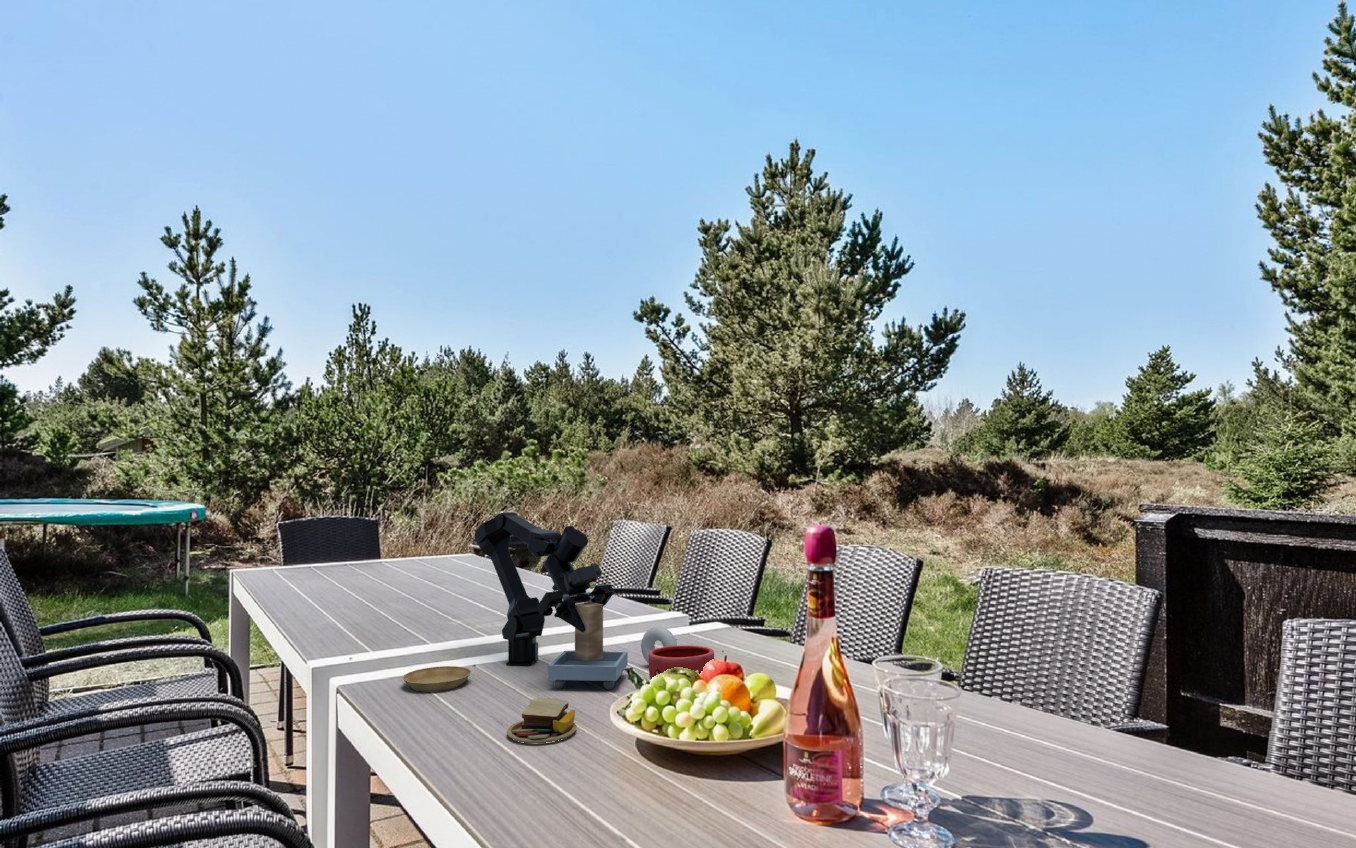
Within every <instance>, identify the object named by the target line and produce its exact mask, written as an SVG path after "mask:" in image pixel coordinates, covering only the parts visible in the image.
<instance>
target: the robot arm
mask: <svg viewBox="0 0 1356 848" xmlns="http://www.w3.org/2000/svg"><path fill="white" fill-rule="evenodd" d="M512 536H514V537H515V538H517V539H519V540H521V541H522V542H523V543H525V544H526V545H527V550H528V551H529V552H530V553H531V554H532V555H533V556H534V557H535V558H542V557H543V558H544V557H546V559H545V560H544V561H542V566H541V568H540V573H541V574H546V573H547V574H548V575H549V577H550V578H551V581H552V582H553V585H552V587H551V588H552V590H553V591H547V592H545V594H544V595H543V596H542V598H541V600H539V599H538V597H536V596H535V597H530V596H529V595H528V593H527V590H526V588H525V586H524V584H523V581H522V579H521V577H520V574H519V572H518V569H517V567H516V565H515V562H514V559H513V557H512V555H511V553H510V550H509V548H510V545H511V544H510V543H511V541H512V540H511V539H512V538H511V537H512ZM474 539H475V542H476V543H477V545H478V547H479V549H480V551H481V552H483V554H485V555H486V556H488V557H490V559H491V561H492V565H493V567H494V570H495V572H496V575H497V577H498V580H499V582H500V584H501V587H502V589H503V591H504V592H503V593H504V594H505V595H504V596H505V597H506V599H507V602H508V605H509V606H508V609H507V614H506V617H507V621H506V623H505V625H504V626H503V628H502V630H501V634H502V635H501V636H502V639H503V640H507V642H508V643H507V644H508V645H507V647H508V657H507V661H506V663H505V665H506V666H508V665H509V666H532V665H533V664H534V663H536V662H537V661H538V660H539V642H537V637H541V636H542V635H543V631H544V626H545V620H546V619H545V617H549V616H552V615H553V616H554V618H558V619H560V620H562V621H564V622H565V623H567V624H569V625H571V626H572V627H574V629H575V628H576V629H578V630H579V631H581V632H584V631H585V630H586V629H585V626H584V624H583V622H582V620H581V618H580V616H579V614H578V612H577V610H576V607H575V604H581V603H588V602H593V603H598V604H603V607H606V605H607V603H608V602H609V601H610V600H611V598H612V597H613V595H614V594H615V593H616V592H615V590H614V588H613V586H612V585H611V584H610V583H605V584H604V583H603V584H597V585H595V586H594V587H593V590H592V591H591V592H590V591H587V590H589V589H590V587H591V583H592V582H594V581H597V580H599V578H600V577H601V576H602V574H603V573H602V570H601V568H600V566H599V565H598V563H590V565H588V566H581V567H577V568H576V569H575V567H574V566H573V564H572V563H575V562H576V561H578V559H579V557H580V556H581V554H582V553H583V551H584V550H585V549H586V547H587V546H588V544H589V539H588V535H587V534H585V533H583V531H581V530H579V529H577V528H575V526H574V525H567V526H565V527H564V529H563V531H562V533H560V532H559V531H555V530H551V529H544V528H539V527H538V526H537V525H534V524H533V523H531V522H529V521H527V520H526V519H524V518H522V517H521V516H519V515H518V513H517V512H514V511H510V512H500V513H498V514H496V515H495V516H494V517H493V518H491V519H489V520H486V521H485V522H483V523H481V524H480V525H478V527H477V529H475V531H474ZM553 607H554V609H555V611H556V612H555V613H554V614H553V612H554V609H553Z"/></svg>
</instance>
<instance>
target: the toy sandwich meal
mask: <svg viewBox="0 0 1356 848" xmlns="http://www.w3.org/2000/svg"><path fill="white" fill-rule="evenodd" d="M567 709H569V702H568V701H566V700H564V699H561V698H560V699H558V698H553V697H552V698H550V697H547V698H546V697H540V698H533V699H530V703H529V704H528V705H527V707H526V708H525V709H524V711H522V712H521V719H522V720H520V721H517V722H516V723H513V724H512V725H510V726H509V727H508V728H507V730H506V734H507V737H509V738H512V739H514V740H515V741H514V740H513V741H514V742H516V741H519V742H524V743H546V742H552V741H558V740H561V739H564V740H566V739H568V738H570V737H571V736H572V735H573V733H575V731H577V724H576V723H575V722H574V721H575V717H576V716H575V715H576V714H575V713H576V710H575V709H571V710H569V711H568V712H567ZM569 736H570V737H569ZM567 737H568V738H567ZM512 739H511V740H512ZM519 742H518V743H519ZM558 742H559V741H558Z"/></svg>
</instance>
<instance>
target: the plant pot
mask: <svg viewBox="0 0 1356 848" xmlns="http://www.w3.org/2000/svg"><path fill="white" fill-rule="evenodd" d="M648 656H649V664H648V672H649V673H648V674H649V679H650V680H651V679H652V677H654V676H656V675H657V676H658V674H660V673H663V672H664V671H666V670H667V669H671V668H674V667H683V668H688V669H691V670H694V671H696V672H697V673H699V674H700V673H701V671H703V667H704V666H705V664H706V663H707V662H709V661H710V660H712V659H714V660H715V651H714V649H712V648H710V647H707V646H701V645H692V644H691V645H687V644H686V645H684V644H683V645H681V644H680V645H677V646H667V647H663V646H662V647H657V648H655V649H654V650H652V651H650V652H649V655H648Z"/></svg>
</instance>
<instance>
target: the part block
mask: <svg viewBox="0 0 1356 848" xmlns="http://www.w3.org/2000/svg"><path fill="white" fill-rule="evenodd" d="M575 607H576V610H577V612H578V614H579V616H580V618H581V620H582V622H583V624H584V626H585V629H586V630H585V631H584V632H581V631H579V630H578V629H576V628H575V627H574V651H575V658H576V659H579V660H583V661H586V662H588V661H593V660H597V659H601V658H603V651H604V606H603V604H598V603H593V602H588V603H578V604H575Z"/></svg>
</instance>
